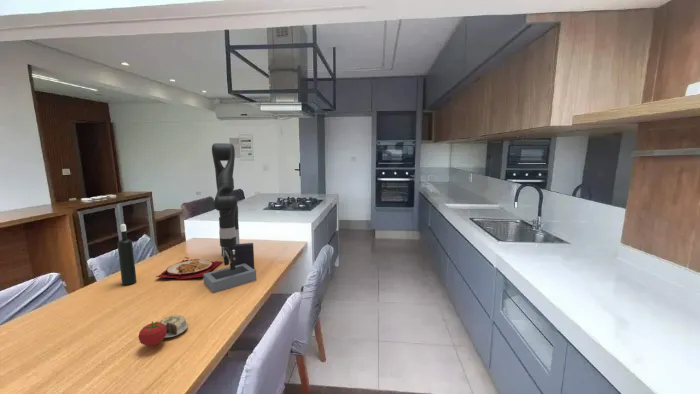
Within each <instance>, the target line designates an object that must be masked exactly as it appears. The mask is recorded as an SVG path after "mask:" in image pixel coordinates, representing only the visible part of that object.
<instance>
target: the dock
mask: <svg viewBox="0 0 700 394" xmlns="http://www.w3.org/2000/svg"><path fill="white" fill-rule="evenodd" d="M255 281H257V270H256V269H255V268H254V269H253V268H251V267H250V266H248V265H247V264H245V263H244V264H240V265H236V266H235V270H230V266H229V267H225V268H222V269H217V270H213V271H212V270H211V271H209V272H208V273H204V274H203V284H204V285H205V286H206V287H207V288H208V289H209V290H210V291H211V293H213V294H214V293H218V292H221V291H224V290H225V291H226V290H229V289H231V288H235V287H238V286H241V285H245V284H248V283H251V282H255Z"/></svg>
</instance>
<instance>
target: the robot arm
mask: <svg viewBox="0 0 700 394" xmlns="http://www.w3.org/2000/svg"><path fill="white" fill-rule="evenodd" d="M211 154H212V160H213V165H214V170H215V171H214V173H215V182H216V189H217V191H216V194H215V197H214V201H213V207H214V209H215V210H216V211H218V213H219V217H218V227H219V231H218V233H219V246H220V247H221V249H220V250H221V256H222V258H223V265H224V266H229V267H230V270H235V262H237V254H236V250H234V249H233V246H234V245H236V244H241V243H240V228H239V206H238V198H237V197H236V196H235V195H232V194H233V191H234V190H235V185H234V183H235V181H234V168H235V160H236V159H235V155H236V152H235V146H234V144H232V143H227V142H225V143H223V142H222V143H213V144H212V146H211ZM225 161H226V162H227V163H226V165H225V166H224V165H223V163H222V162H225Z"/></svg>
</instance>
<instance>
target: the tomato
mask: <svg viewBox="0 0 700 394" xmlns="http://www.w3.org/2000/svg"><path fill="white" fill-rule="evenodd" d="M166 332H167V329H166V326H165V324H163V323H160V321H155V322H154V321H153V320H152V321H151V323H148V324H146V325H145V326H143V327H142V329H141V330H140V331H139V333H138V340H139V343H140V344H142V345H143V346H146V347H153V346H156V345H158V344H160V343H161V342H162V341H164V339H165V338H164V337H165V336H166Z"/></svg>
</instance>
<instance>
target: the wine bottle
mask: <svg viewBox="0 0 700 394" xmlns="http://www.w3.org/2000/svg"><path fill="white" fill-rule="evenodd" d="M119 227H120V232H121V233H120V234H121V240H119V241H118V242H117V249H118V250H117V251H118V260H119V270H120V276H121V285H122V286H129V285H134V284H135V283H136V282H137V273H136V263H135V255H134V245H133V241H132V240H131V239H129V238H128V236H127V225H126V224H125V223H121V224H120V226H119Z"/></svg>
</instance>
